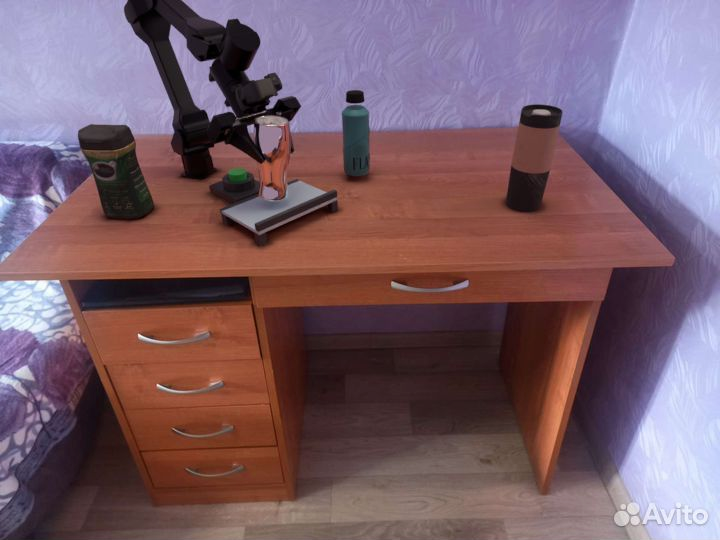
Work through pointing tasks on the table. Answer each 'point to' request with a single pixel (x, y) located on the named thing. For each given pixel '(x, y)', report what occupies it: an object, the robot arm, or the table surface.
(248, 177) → the control box
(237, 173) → the button
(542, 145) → the travel mug
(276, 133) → the beer glass
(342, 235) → the table surface
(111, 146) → the coffee jar
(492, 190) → the table surface
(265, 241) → the shelf
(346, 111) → the beverage bottle
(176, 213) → the table surface
